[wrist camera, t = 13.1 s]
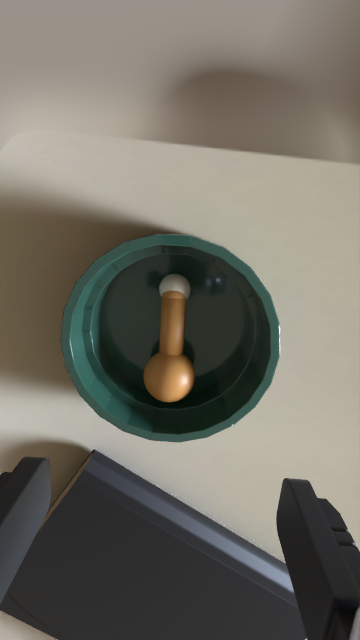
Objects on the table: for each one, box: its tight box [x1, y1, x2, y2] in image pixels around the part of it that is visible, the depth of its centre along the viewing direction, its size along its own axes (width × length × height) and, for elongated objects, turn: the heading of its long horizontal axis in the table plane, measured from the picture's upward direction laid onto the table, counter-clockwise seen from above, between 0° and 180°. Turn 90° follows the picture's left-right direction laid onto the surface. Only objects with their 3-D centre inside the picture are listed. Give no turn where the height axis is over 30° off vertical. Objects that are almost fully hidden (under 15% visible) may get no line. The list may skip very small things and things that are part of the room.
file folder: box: [0, 449, 307, 640], centre depth 38 cm, size 33×4×24 cm
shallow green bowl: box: [61, 234, 280, 442], centre depth 28 cm, size 18×18×6 cm
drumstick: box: [144, 274, 195, 402], centre depth 28 cm, size 12×5×5 cm, turn 177°
